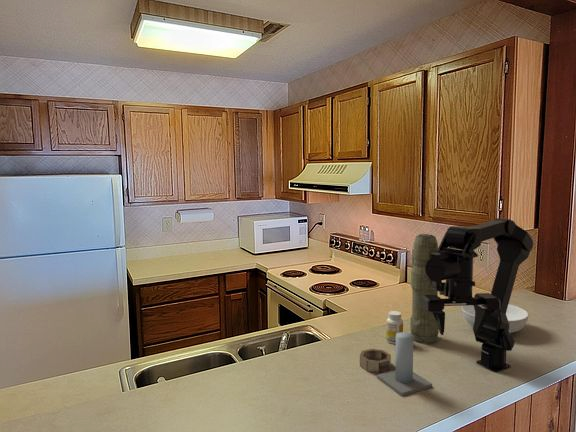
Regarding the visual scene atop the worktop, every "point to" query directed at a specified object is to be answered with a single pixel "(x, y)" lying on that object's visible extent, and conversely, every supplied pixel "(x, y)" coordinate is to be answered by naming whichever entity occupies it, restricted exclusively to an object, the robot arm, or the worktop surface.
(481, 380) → the worktop surface
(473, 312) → the serving bowl
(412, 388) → the gray base plate
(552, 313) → the worktop surface
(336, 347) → the worktop surface
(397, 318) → the supplement bottle
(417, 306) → the thermos
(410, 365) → the slate peg
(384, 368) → the bronze collar
